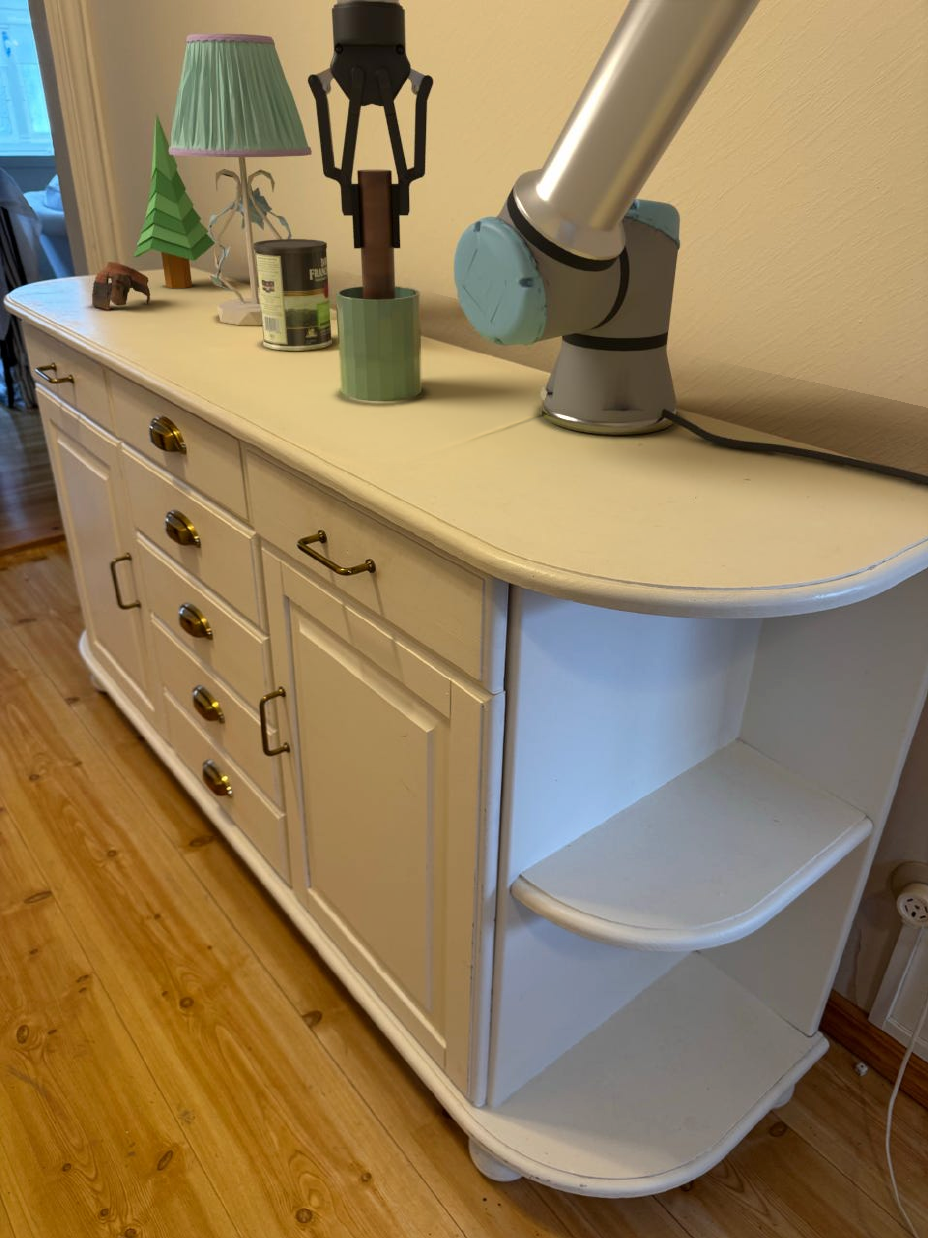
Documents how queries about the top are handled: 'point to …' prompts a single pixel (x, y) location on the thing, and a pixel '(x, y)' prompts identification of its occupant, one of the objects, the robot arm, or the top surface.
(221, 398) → the top surface
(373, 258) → the stick
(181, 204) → the decorative tree
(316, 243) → the coffee can
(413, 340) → the tin
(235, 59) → the table lamp
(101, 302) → the brown arched piece
